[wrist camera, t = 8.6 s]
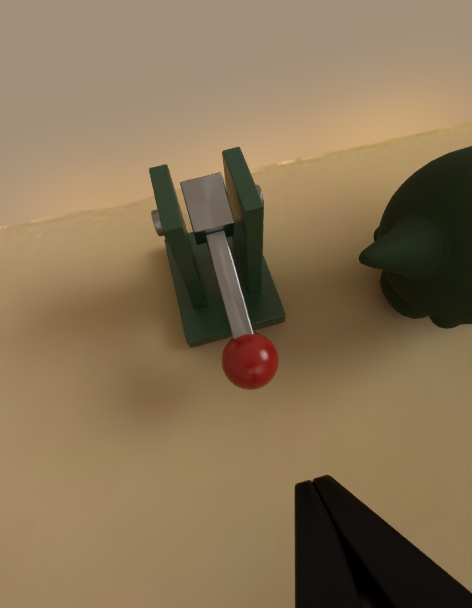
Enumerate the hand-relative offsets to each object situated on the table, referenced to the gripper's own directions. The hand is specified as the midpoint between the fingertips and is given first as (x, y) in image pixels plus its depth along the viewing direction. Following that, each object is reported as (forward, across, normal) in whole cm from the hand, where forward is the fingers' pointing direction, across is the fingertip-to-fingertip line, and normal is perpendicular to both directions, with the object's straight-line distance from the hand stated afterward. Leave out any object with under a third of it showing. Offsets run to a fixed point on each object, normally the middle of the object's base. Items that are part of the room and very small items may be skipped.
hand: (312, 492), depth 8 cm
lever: (+13, 0, -2) cm, 13 cm away
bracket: (+19, 0, -1) cm, 19 cm away
